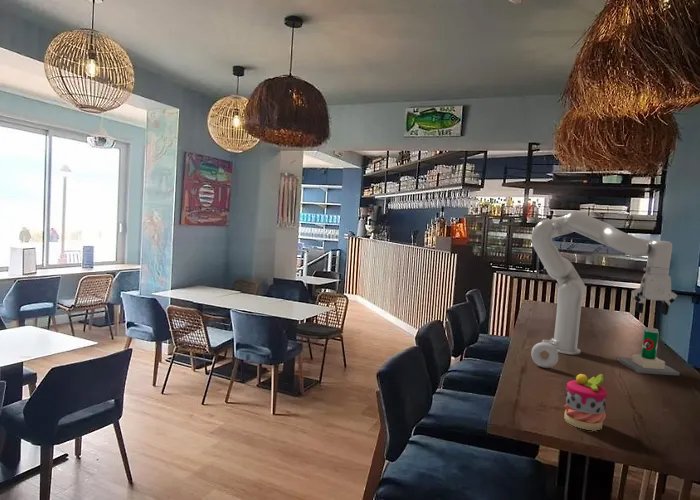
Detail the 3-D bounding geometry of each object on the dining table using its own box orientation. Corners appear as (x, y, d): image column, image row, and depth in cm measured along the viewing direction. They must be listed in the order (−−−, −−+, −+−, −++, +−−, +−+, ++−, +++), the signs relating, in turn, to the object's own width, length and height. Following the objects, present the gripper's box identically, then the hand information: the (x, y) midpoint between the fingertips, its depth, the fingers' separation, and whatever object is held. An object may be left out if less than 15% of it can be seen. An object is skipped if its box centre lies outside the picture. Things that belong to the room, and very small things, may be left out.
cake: (569, 429, 126) (574, 377, 125) (558, 412, 137) (563, 364, 135) (609, 434, 125) (615, 381, 123) (595, 417, 135) (600, 368, 134)
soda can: (658, 360, 181) (661, 331, 180) (644, 358, 182) (647, 329, 181) (652, 356, 186) (655, 327, 185) (638, 355, 187) (642, 326, 186)
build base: (637, 372, 177) (639, 362, 177) (617, 360, 191) (619, 351, 191) (679, 375, 177) (680, 365, 177) (656, 363, 191) (657, 353, 191)
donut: (558, 369, 176) (560, 344, 175) (556, 371, 173) (558, 346, 172) (531, 363, 182) (533, 338, 181) (529, 365, 179) (531, 340, 178)
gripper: (640, 271, 178) (635, 313, 180) (685, 274, 177) (679, 317, 179) (629, 268, 185) (624, 309, 187) (673, 271, 185) (667, 312, 186)
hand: (651, 313), depth 183 cm, fingers open, 9 cm apart
